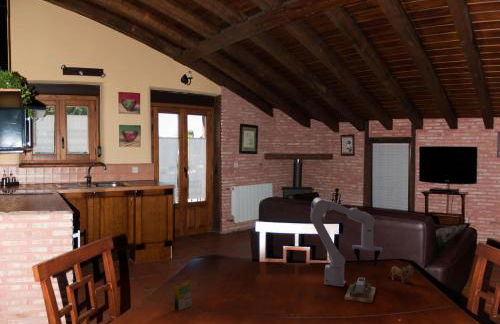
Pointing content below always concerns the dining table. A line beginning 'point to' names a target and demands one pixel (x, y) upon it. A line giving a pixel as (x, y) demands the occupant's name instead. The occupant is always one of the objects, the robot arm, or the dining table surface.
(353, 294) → the cradle jig
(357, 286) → the grey pillar with nub
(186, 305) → the crayon box
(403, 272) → the lion figurine
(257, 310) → the dining table surface
